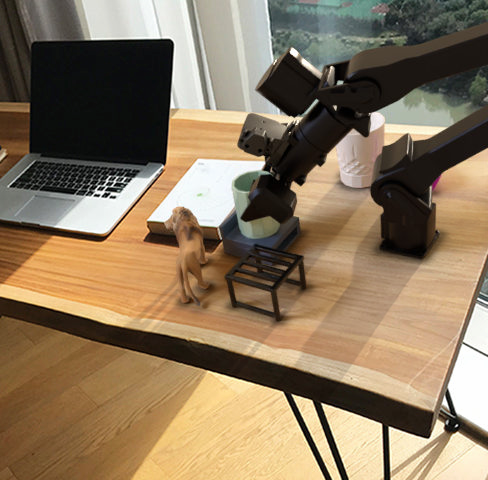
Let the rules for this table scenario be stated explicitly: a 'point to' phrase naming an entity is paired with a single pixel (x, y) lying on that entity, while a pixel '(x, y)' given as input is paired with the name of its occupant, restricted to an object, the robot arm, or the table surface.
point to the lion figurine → (188, 249)
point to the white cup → (361, 153)
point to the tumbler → (240, 195)
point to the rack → (265, 276)
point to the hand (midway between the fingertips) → (247, 207)
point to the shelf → (241, 245)
